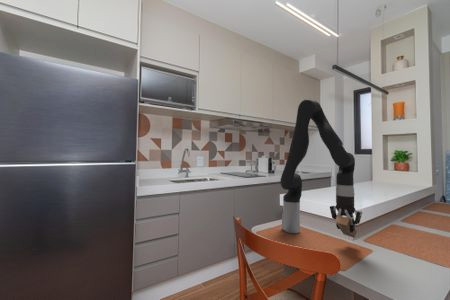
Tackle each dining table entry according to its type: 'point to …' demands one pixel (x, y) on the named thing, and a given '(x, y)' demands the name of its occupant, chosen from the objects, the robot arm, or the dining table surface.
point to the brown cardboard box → (345, 226)
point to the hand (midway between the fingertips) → (345, 230)
